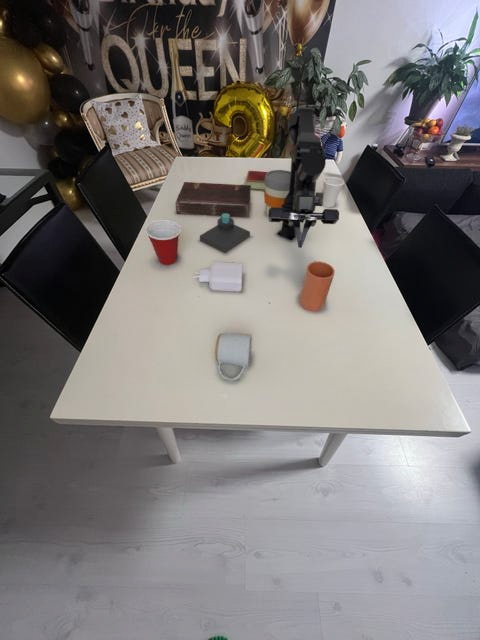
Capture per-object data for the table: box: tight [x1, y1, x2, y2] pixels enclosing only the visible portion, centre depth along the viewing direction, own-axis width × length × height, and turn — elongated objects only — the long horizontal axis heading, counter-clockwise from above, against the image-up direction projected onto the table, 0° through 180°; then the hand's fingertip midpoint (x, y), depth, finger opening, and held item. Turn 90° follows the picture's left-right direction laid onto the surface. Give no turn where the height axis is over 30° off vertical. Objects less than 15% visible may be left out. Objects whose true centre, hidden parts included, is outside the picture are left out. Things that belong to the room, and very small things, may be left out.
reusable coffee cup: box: [263, 169, 291, 217], centre depth 117 cm, size 13×13×15 cm
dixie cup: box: [322, 176, 345, 208], centre depth 126 cm, size 8×8×10 cm
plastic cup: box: [144, 219, 182, 266], centre depth 95 cm, size 11×11×12 cm
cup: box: [298, 261, 335, 312], centre depth 83 cm, size 7×7×12 cm
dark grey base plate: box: [199, 216, 251, 254], centre depth 108 cm, size 14×12×4 cm
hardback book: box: [175, 181, 252, 219], centre depth 124 cm, size 29×19×5 cm, turn 86°
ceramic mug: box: [214, 332, 253, 382], centre depth 69 cm, size 11×8×8 cm
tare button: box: [221, 213, 231, 223], centre depth 109 cm, size 3×3×2 cm
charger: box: [192, 261, 244, 292], centre depth 91 cm, size 5×9×15 cm
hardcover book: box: [245, 170, 268, 192], centre depth 139 cm, size 12×21×4 cm, turn 83°
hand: (300, 247), depth 83 cm, fingers closed
